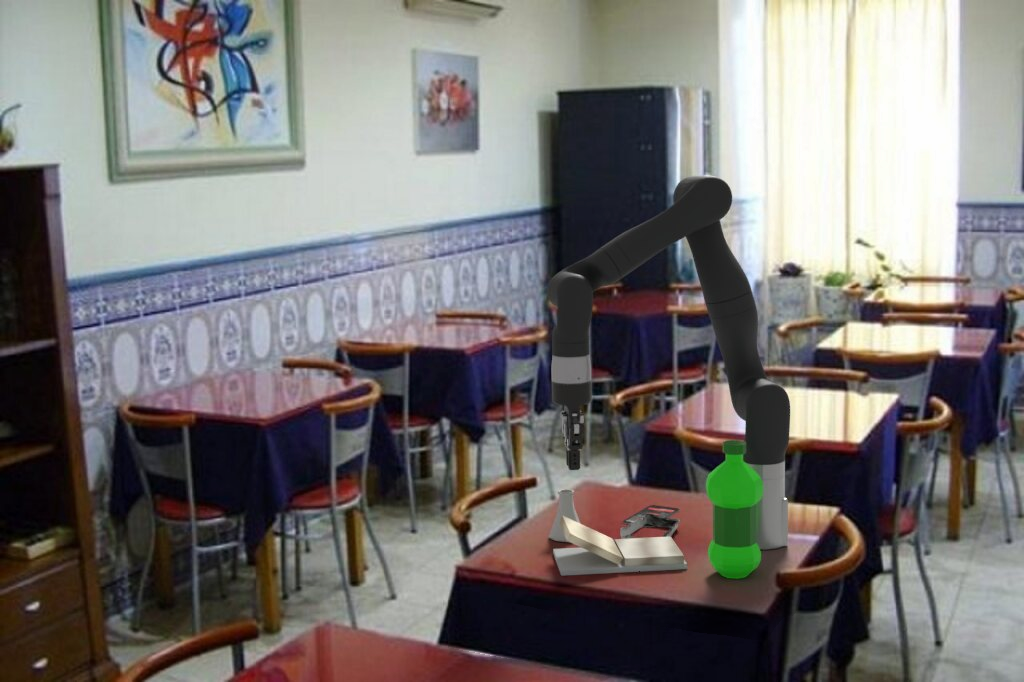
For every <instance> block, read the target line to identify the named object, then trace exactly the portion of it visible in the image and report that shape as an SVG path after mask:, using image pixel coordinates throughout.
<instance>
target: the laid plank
mask: <svg viewBox="0 0 1024 682" xmlns="http://www.w3.org/2000/svg"><path fill="white" fill-rule="evenodd" d="M613 540H614V542H615V544H616V546H617V548H618V550H619V552H620V553H621V555H622V557H623V559H622V562H623V563H624V565H625V566H640V565H659V564H678V563H684V560H685V555H684V554H683V552H682V550H681V549H680V548H679V546H678V545H677V544H676V542H675V541H674V539H673V538H672V536H670V537H663V536H654V537H652V536H651V537H644V538H638V537H635V538H630V539H622V538H618V539H617V538H614V539H613Z"/></svg>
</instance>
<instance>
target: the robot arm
mask: <svg viewBox="0 0 1024 682" xmlns="http://www.w3.org/2000/svg"><path fill="white" fill-rule="evenodd" d="M672 198H673V199H672V203H673V204H672V205H671V206H669V207H668V208H667V209H665V210H664V211H662V212H660V213H659V214H657V215H655V216H654V217H652V218H650V219H648V220H646V221H644V222H642V223H640V224H638V225H636V226H634V227H632V228H630V229H628V230H626V231H624V232H622V233H621V234H619V235H617V236H616V237H615V238H612V240H610V241H609V242H607V243H605V244H604V245H602V246H601V247H600V248H598V249H597V250H596V251H594V252H593V253H592V254H590V255H588V256H587V257H585V258H583V259H581V260H579V261H577V262H574V263H573V264H571V265H568V266H567V267H565V268H563V269H561V271H559V272H557V273H556V274H555V275H554V276H553V277H552V278H551V279H550V280H549V282H548V285H547V288H546V294H547V298H548V300H549V302H550V303H551V304H552V305H554V307H556V308H557V310H556V311H557V313H556V314H557V315H556V316H557V317H556V325H555V326H554V327H553V328H552V333H551V348H552V349H551V350H552V351H551V352H552V358H551V359H552V360H551V366H550V367H551V369H550V370H551V401H552V403H553V404H554V405H557V406H559V407H560V406H561V407H563V410H562V411H561V412H560V419H561V428H562V429H561V432H562V434H563V438H562V439H563V441H564V442H563V443H564V446H565V462H566V467H567V466H568V470H569V471H579V470H580V469H581V451H582V449H583V440H584V439H583V438H584V427H585V425H584V423H585V415H584V413H582V412H583V411H582V410H581V409H580V408H581V407H582V406H586V405H589V404H590V403H591V402H592V401H593V397H592V395H593V394H592V393H593V392H592V365H591V364H592V363H591V357H590V355H591V354H590V333H589V332H590V327H591V321H592V315H593V309H594V294H593V293H594V292H596V291H598V289H599V290H600V288H602V287H603V288H604V287H609V286H611V285H613V284H615V283H617V282H618V281H621V279H623V278H624V277H626V276H627V275H629V274H630V273H631V272H633V271H635V270H636V269H637V268H638V267H640V266H642V265H643V264H644V263H646V262H647V261H649V260H650V259H651V258H653V257H654V256H656V255H658V254H659V253H661V252H662V251H664V250H665V249H667V248H668V247H670V246H672V245H673V244H675V243H677V242H678V241H680V240H682V239H684V238H686V240H687V243H688V245H689V246H688V247H689V249H690V253H691V255H692V259H693V262H694V267H695V270H696V274H697V278H698V281H699V285H700V288H701V292H702V296H703V300H704V304H705V307H706V309H707V310H706V311H707V314H708V316H709V319H710V322H711V326H712V329H713V332H714V335H715V338H716V342H717V345H718V349H719V350H720V351H719V352H720V353H721V356H722V359H723V364H724V369H725V372H726V373H725V374H726V377H727V383H728V388H729V390H728V391H729V395H730V398H731V399H730V400H731V404H732V408H733V410H734V412H735V413H736V414H737V416H738V417H739V418H740V419H742V420H743V421H745V433H744V434H745V435H744V440H743V441H744V442H746V453H745V454H743V461H744V462H745V463H747V464H748V465H749V466H750V467H751V468H752V469H753V470H754V471H755V472H757V473H758V475H759V476H760V477H761V480H762V482H763V495H762V499H761V500H760V501H759V502H758V503H757V504H756V543H757V544H758V546H759V549H760V550H773V549H779V548H781V547H788V546H789V541H788V540H789V526H788V525H789V500H788V498H787V497H786V495H785V494H786V491H785V490H786V471H785V470H786V451H787V450H788V447H789V445H790V444H789V443H790V431H791V429H790V428H791V426H790V425H791V402H790V398H789V395H788V393H787V391H786V390H785V388H784V387H782V386H781V385H780V384H778V383H775V382H773V381H770V380H769V378H767V374H766V373H765V369H764V367H763V363H762V362H761V358H760V354H759V350H758V349H759V348H758V329H759V317H758V316H759V315H758V308H757V304H756V301H755V297H754V295H753V291H752V287H751V284H750V281H749V279H748V277H747V274H746V273H745V271H744V269H743V268H742V266H741V264H740V262H739V261H738V259H737V258H736V256H735V255H734V253H733V252H732V250H731V248H730V247H729V245H728V243H727V241H726V237H725V235H724V231H723V228H722V227H723V226H722V224H721V220H722V219H723V218H724V217H725V216H726V215H727V214H729V213H728V212H729V211H730V210H731V208H732V203H733V193H732V190H731V186H729V184H728V183H727V182H726V181H725V180H724V179H722V178H720V177H718V176H715V175H709V174H707V175H705V174H704V175H702V174H701V175H691V176H686V177H685V178H682V179H681V180H680V181H679V182H678V183H677V185H676V187H675V188H674V191H673V195H672Z"/></svg>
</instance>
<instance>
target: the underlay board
mask: <svg viewBox="0 0 1024 682" xmlns="http://www.w3.org/2000/svg"><path fill="white" fill-rule="evenodd" d="M552 550H553V551H552V552H553V553H552V554H553V556H554V559H555V562H556V565H557V568H558V571H559V573H560V576H580V575H581V576H582V575H597V574H598V575H599V574H615V573H618V574H619V573H620V574H621V573H636V572H639V571H640V572H656V571H657V572H658V571H672V570H673V571H676V570H688V563H687V562H686V560H685V559H684V563H678V564H659V565H640V566H625V565H624V563H623V562H622V561H621V563H620V565H618V564H616V563H614V562H612V561H610V560H608V559H605V558H603V557H601V556H599V555H597V554H595V553H592V552H590V551H588V550H586V549H584V548H582V547H566V548H563V547H562V548H553V549H552Z"/></svg>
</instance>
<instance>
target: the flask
mask: <svg viewBox="0 0 1024 682" xmlns="http://www.w3.org/2000/svg"><path fill="white" fill-rule="evenodd" d="M574 494H575V490H573V489H569V488H563V489H559V490H558V491H557V495H558V497H559V499H558V500H559V502H558V507H557V512H556V514H555V518H554V521H553V524H552V527H551V529H550V532H549V534H548V538H549V539H550V540H553V541H556V542H562V543H570V542H569V541H567V540H566V538H565V535H564V533H563V530H562V528H561V526H560V523H559V521H560V519H561V517H562V515H563V516H565V517H567V518H569V519H571V520H573V521H576V522H578V523H580V524H581V522H580V519H579V515H578V514H577V511H576V509H575V508H576V507H575V503H574Z"/></svg>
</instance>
